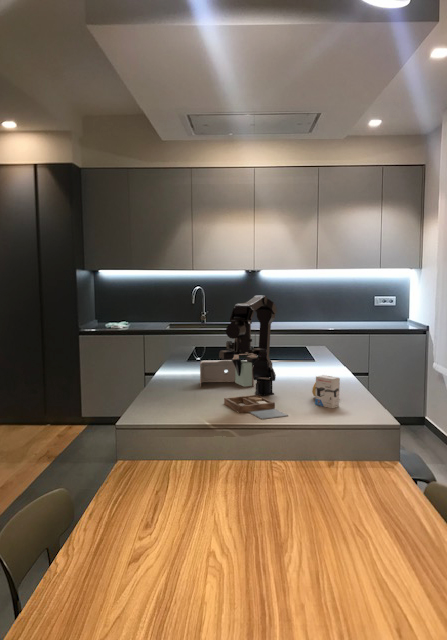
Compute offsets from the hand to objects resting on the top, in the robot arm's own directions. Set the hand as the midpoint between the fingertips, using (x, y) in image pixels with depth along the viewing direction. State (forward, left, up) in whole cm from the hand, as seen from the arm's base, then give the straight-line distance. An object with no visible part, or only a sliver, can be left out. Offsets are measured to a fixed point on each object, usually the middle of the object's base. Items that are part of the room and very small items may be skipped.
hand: (243, 375), depth 201 cm
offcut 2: (-7, +3, -13) cm, 15 cm away
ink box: (-32, +11, -13) cm, 36 cm away
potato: (-37, +1, -13) cm, 39 cm away
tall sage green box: (0, 0, -4) cm, 4 cm away
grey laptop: (-10, -41, -13) cm, 44 cm away
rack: (-3, -1, -13) cm, 13 cm away
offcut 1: (-7, -3, -12) cm, 14 cm away
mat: (-4, +13, -13) cm, 19 cm away
